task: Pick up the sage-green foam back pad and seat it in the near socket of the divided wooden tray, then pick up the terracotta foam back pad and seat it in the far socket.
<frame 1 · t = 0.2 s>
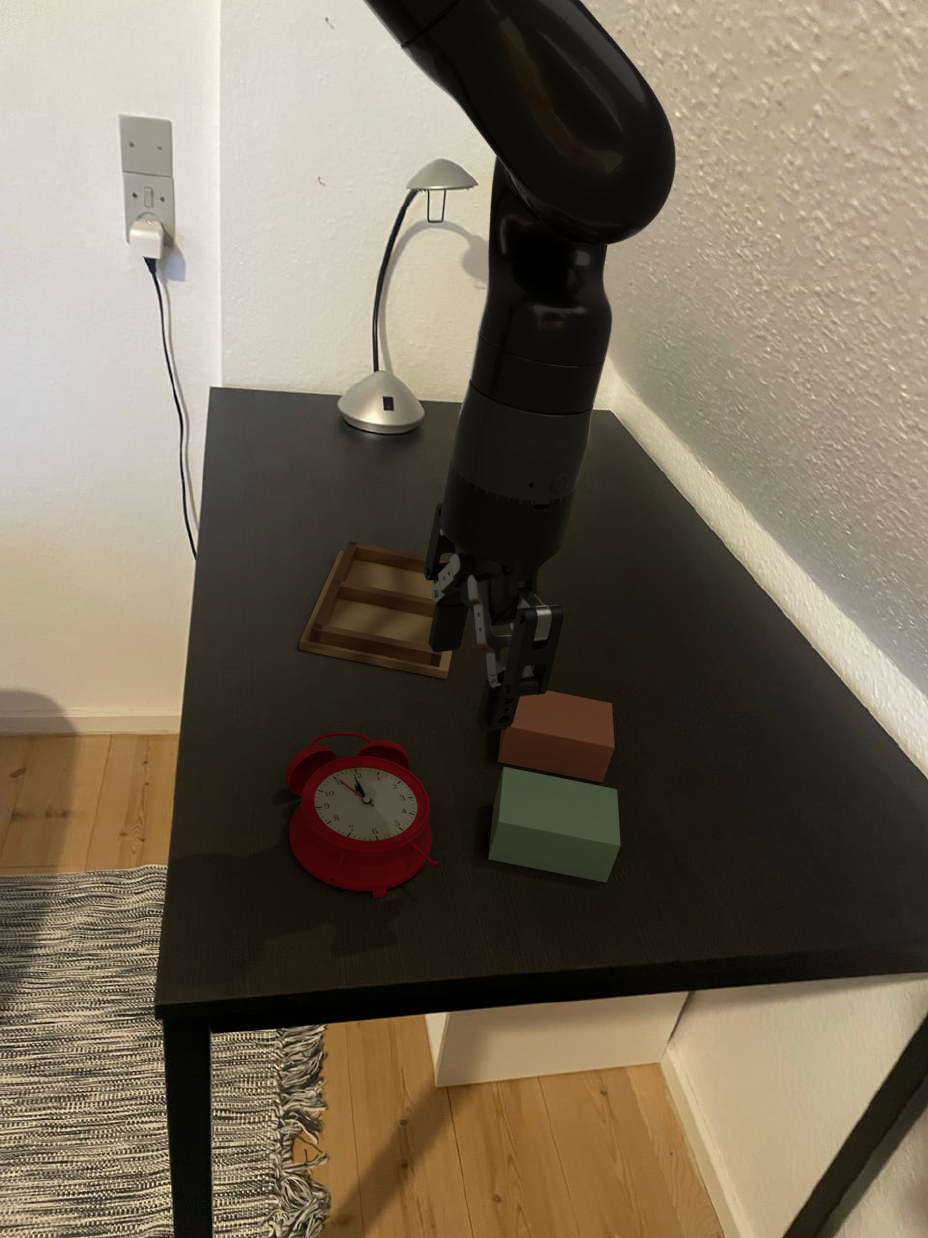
hand: (467, 686, 63), 14 cm above the table, tool pointing down, fingers open, 8 cm apart
divided wooden tray: (388, 614, 95), on the table
alarm clock: (354, 824, 71), on the table
pad terracotta: (550, 749, 82), on the table
pad sage: (548, 842, 73), on the table
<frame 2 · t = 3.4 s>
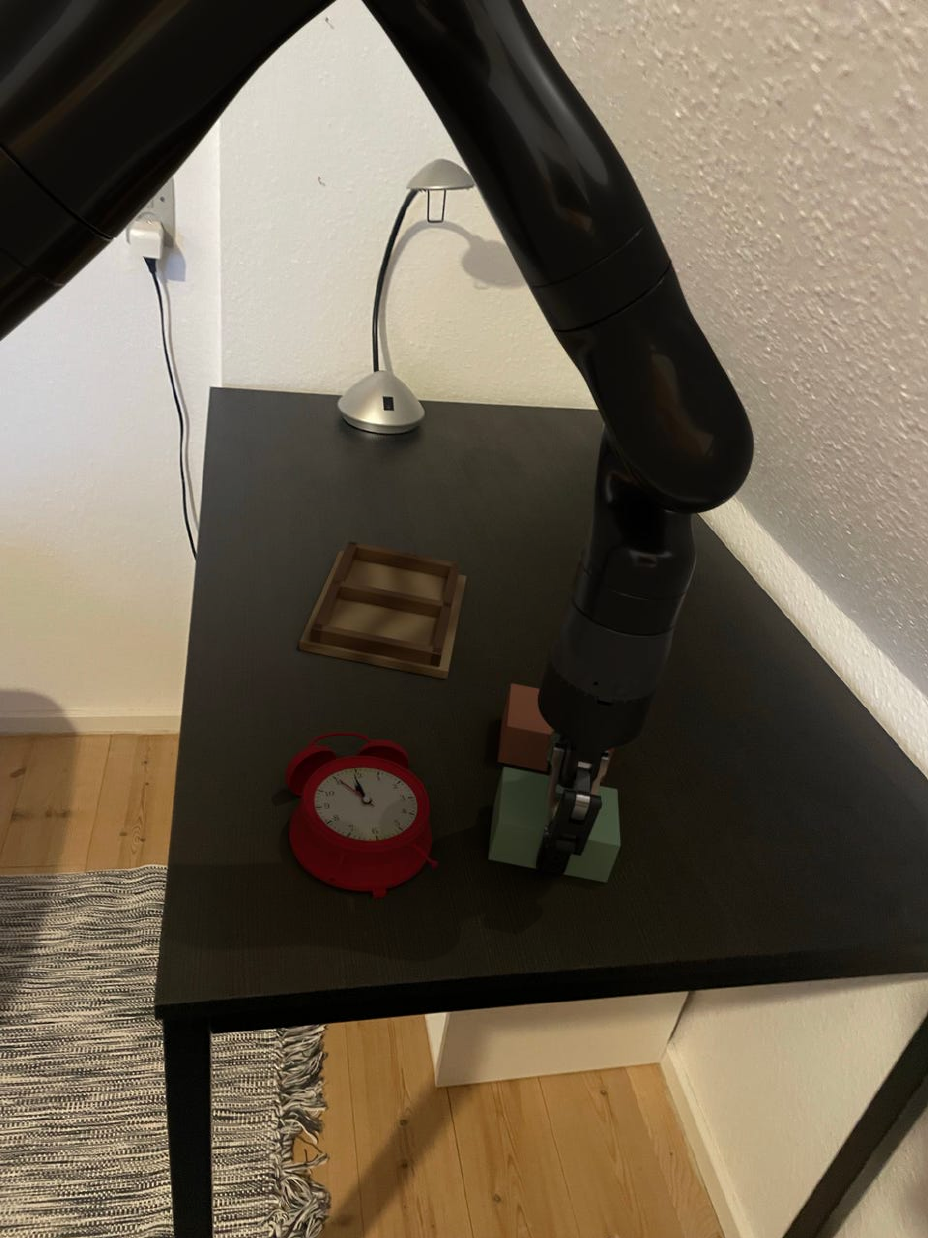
hand: (550, 836, 72), 1 cm above the table, tool pointing down, fingers closed on pad sage, 6 cm apart
pad sage: (548, 842, 73), on the table, touching gripper
everything else where it was.
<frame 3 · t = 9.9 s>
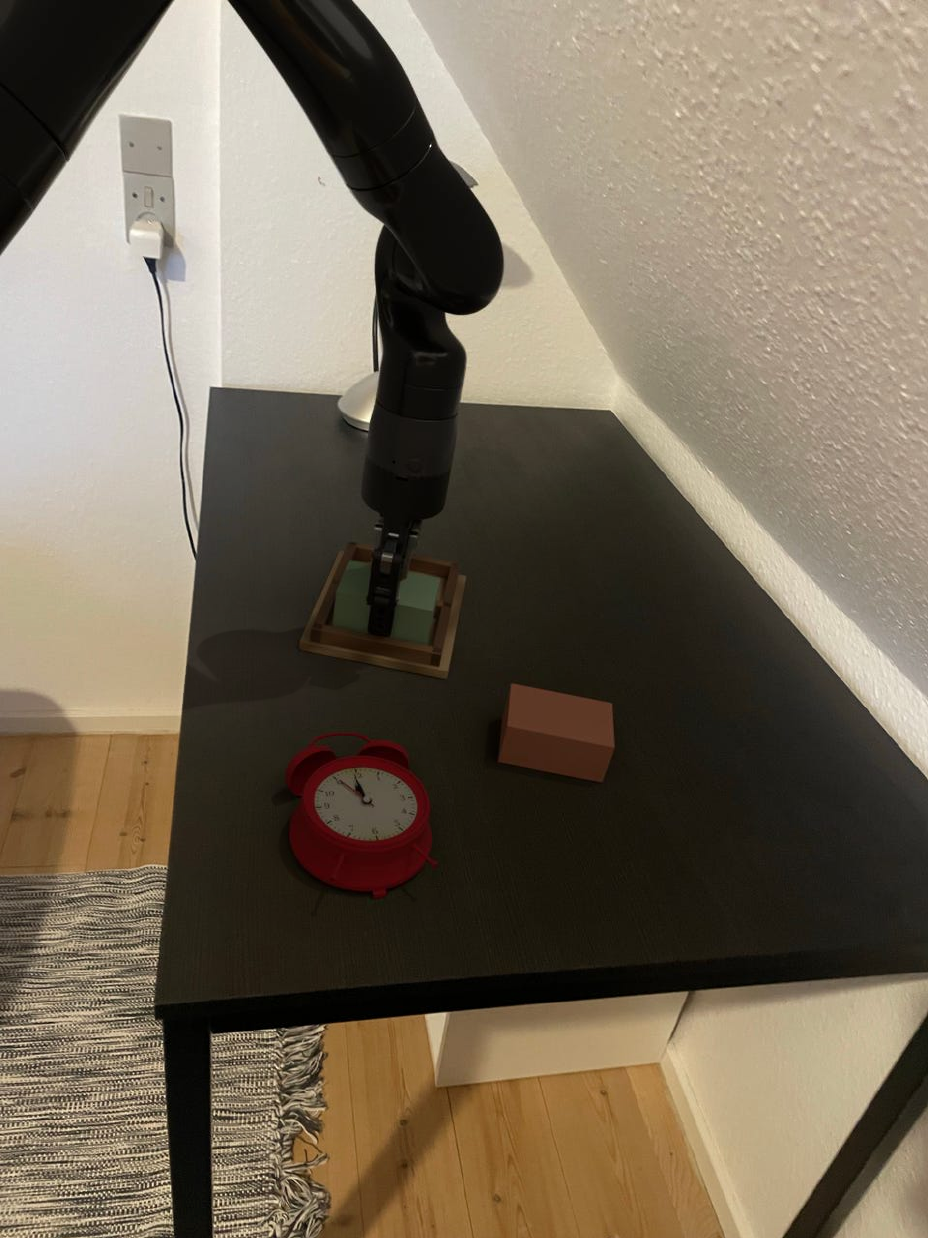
hand: (385, 614, 90), 3 cm above the table, tool pointing down, fingers closed on pad sage, 6 cm apart
pad sage: (384, 619, 91), point 2 cm above the table, touching gripper
everything else where it was.
when the fingers open (3 cm above the table, at t = 16.6 s): pad sage drops 1 cm, resting on divided wooden tray.
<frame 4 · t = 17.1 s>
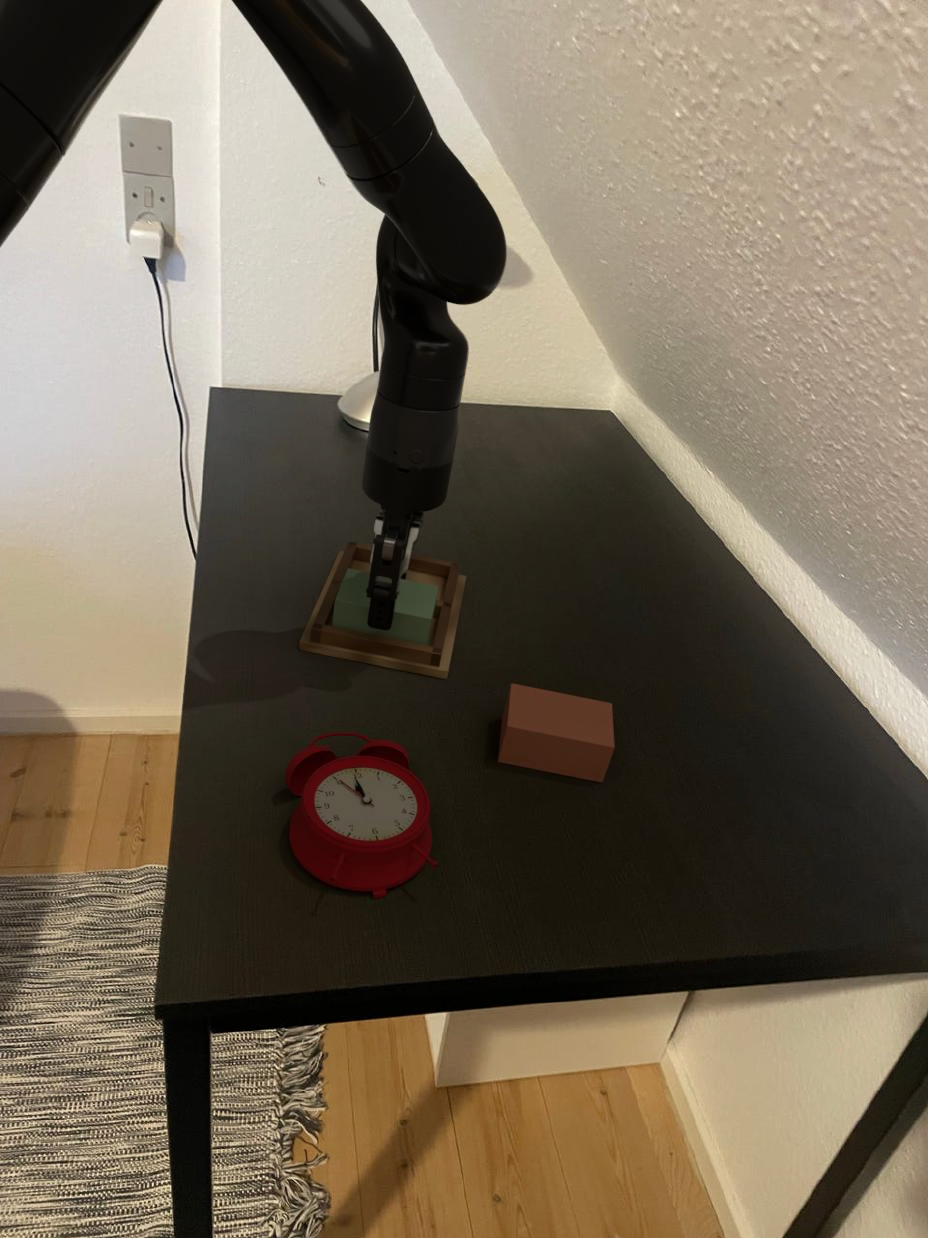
hand: (386, 603, 90), 4 cm above the table, tool pointing down, fingers open, 8 cm apart
pad sage: (383, 627, 91), point 1 cm above the table, touching divided wooden tray
everything else where it was.
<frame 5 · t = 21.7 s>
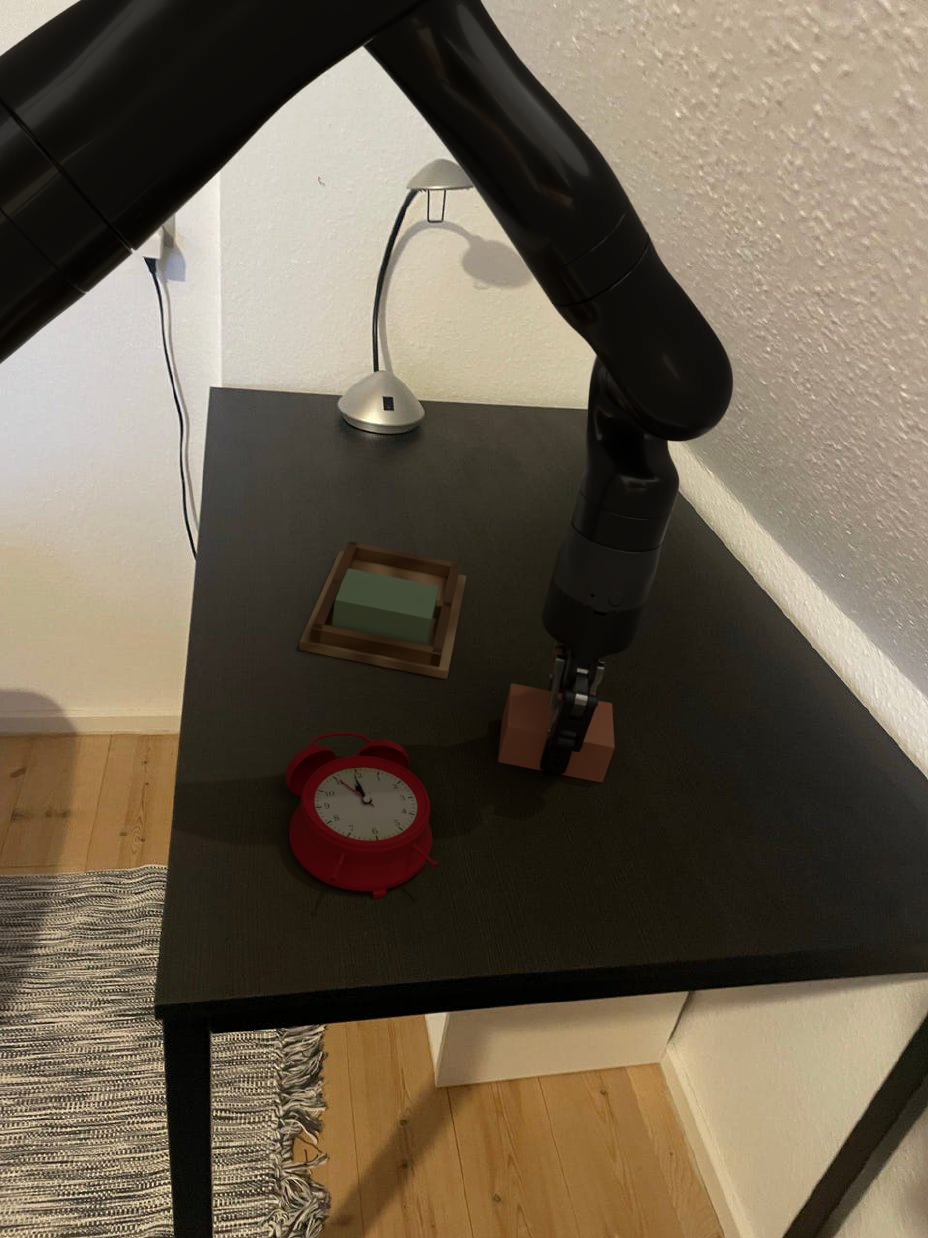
hand: (552, 744, 81), 1 cm above the table, tool pointing down, fingers closed on pad terracotta, 6 cm apart
pad terracotta: (550, 749, 82), on the table, touching gripper
everything else where it was.
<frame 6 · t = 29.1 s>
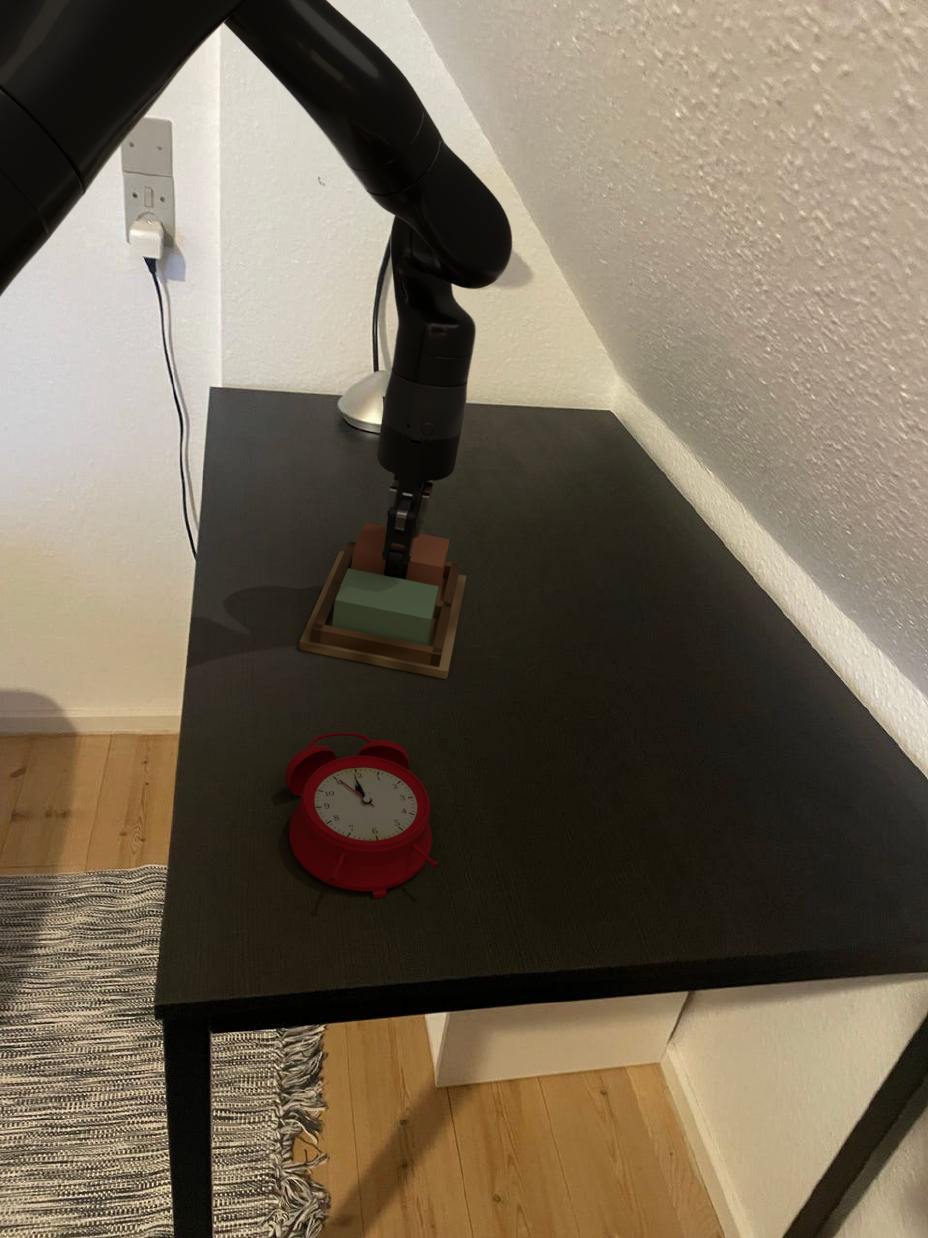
hand: (398, 572, 97), 3 cm above the table, tool pointing down, fingers closed on pad terracotta, 6 cm apart
pad terracotta: (397, 577, 98), point 2 cm above the table, touching gripper
everything else where it was.
when the fingers open (3 cm above the table, at t = 34.8 s): pad terracotta drops 1 cm, resting on divided wooden tray.
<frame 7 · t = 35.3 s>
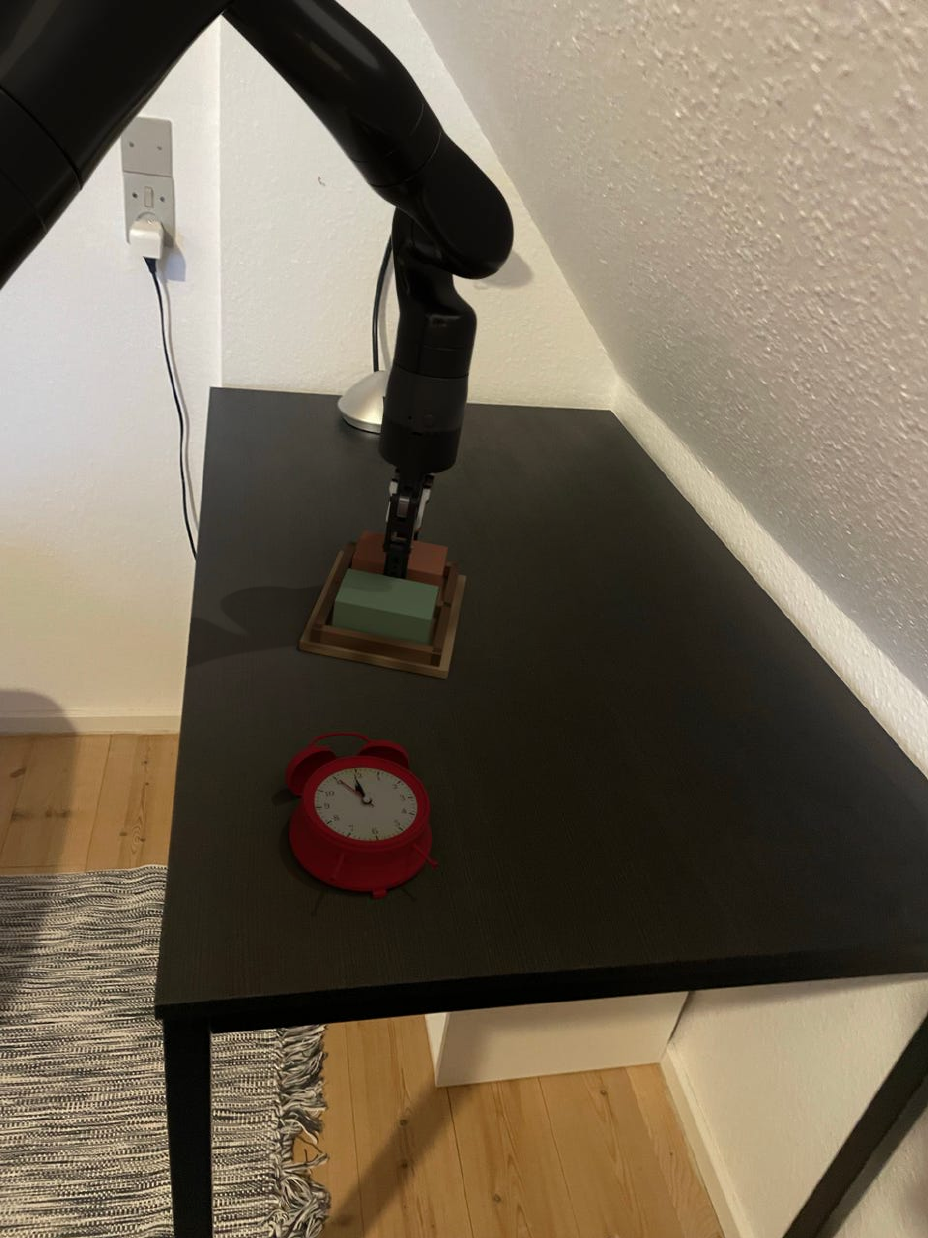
hand: (400, 561, 97), 4 cm above the table, tool pointing down, fingers open, 8 cm apart
pad terracotta: (396, 585, 98), point 1 cm above the table, touching divided wooden tray
pad sage: (383, 627, 91), point 1 cm above the table, touching divided wooden tray, gripper
everything else where it was.
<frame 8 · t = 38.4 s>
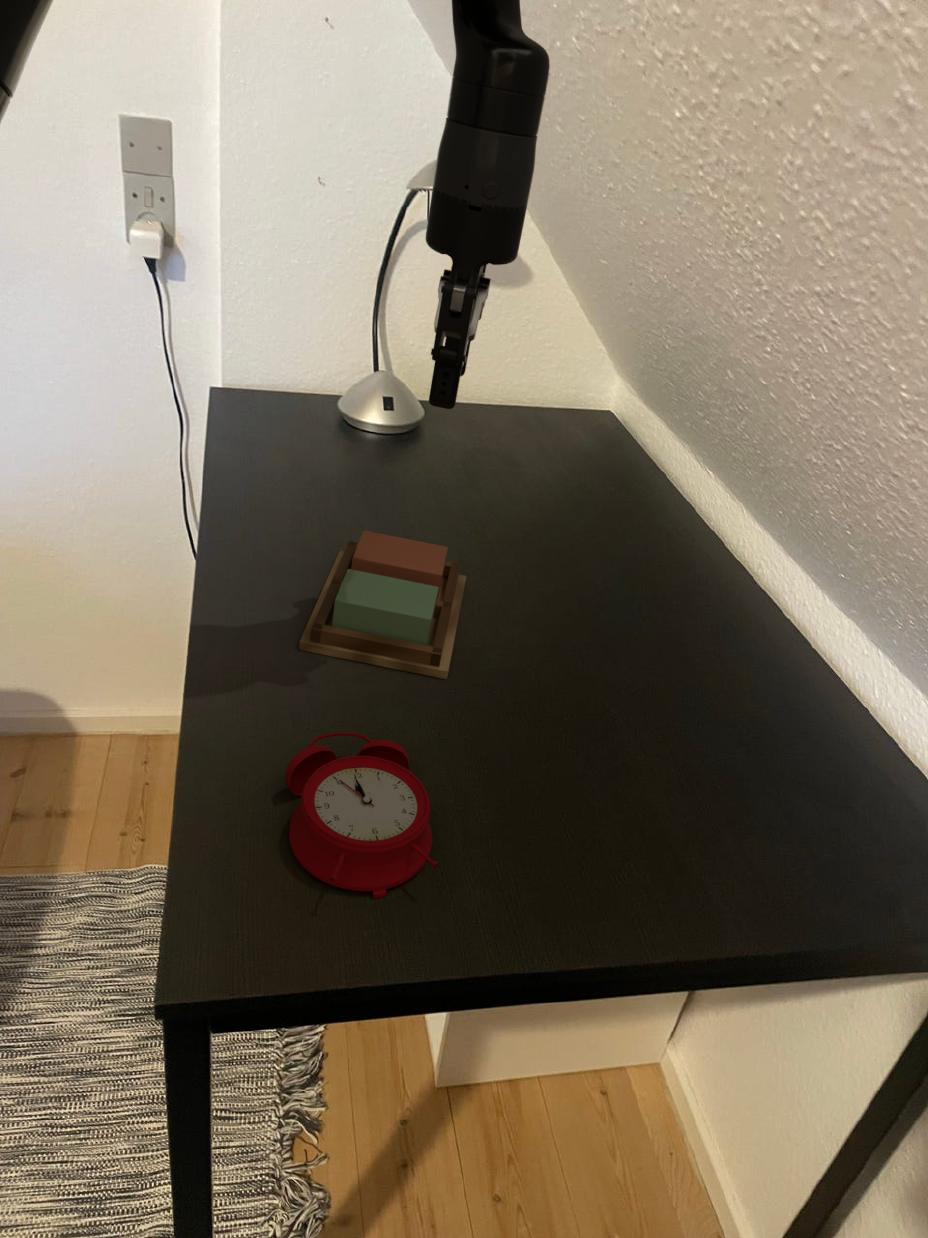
hand: (447, 389, 82), 24 cm above the table, tool pointing down, fingers open, 8 cm apart
pad sage: (382, 628, 91), point 1 cm above the table, touching divided wooden tray
everything else where it was.
at the end: pad sage 0.0 cm from the target spot on the divided wooden tray, point 1.0 cm above the divided wooden tray's base; pad terracotta 0.1 cm from the target spot on the divided wooden tray, point 1.0 cm above the divided wooden tray's base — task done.
